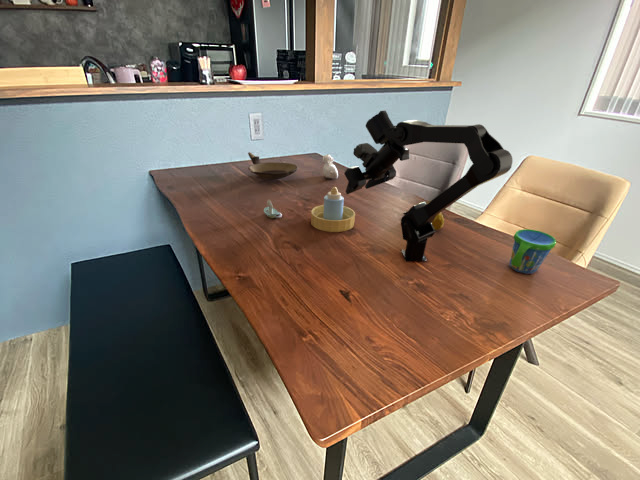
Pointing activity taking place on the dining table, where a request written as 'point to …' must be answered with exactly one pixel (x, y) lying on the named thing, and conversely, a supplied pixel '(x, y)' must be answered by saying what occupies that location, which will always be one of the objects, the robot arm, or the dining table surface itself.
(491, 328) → the dining table surface
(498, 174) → the robot arm
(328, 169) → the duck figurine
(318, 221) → the bowl
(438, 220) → the food
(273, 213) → the pacifier
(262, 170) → the oil lamp
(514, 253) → the snack cup
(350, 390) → the dining table surface
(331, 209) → the baby bottle
